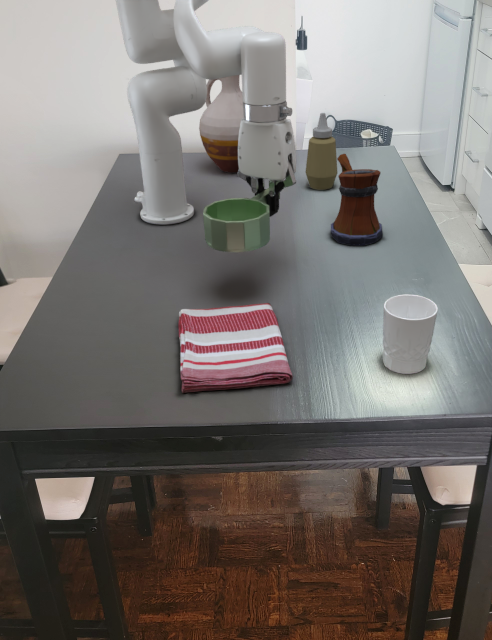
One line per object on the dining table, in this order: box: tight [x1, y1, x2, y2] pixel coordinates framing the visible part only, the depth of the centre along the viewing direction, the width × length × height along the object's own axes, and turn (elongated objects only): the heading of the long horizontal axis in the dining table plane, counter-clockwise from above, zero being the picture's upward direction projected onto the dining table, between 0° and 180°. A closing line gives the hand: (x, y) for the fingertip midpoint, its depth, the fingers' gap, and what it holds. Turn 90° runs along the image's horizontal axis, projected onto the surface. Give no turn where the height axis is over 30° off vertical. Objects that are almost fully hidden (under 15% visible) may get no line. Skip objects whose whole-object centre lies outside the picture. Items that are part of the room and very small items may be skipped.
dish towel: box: [178, 302, 294, 394], centre depth 112 cm, size 17×23×3 cm
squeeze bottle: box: [305, 112, 338, 191], centre depth 171 cm, size 8×8×18 cm
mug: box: [330, 153, 384, 247], centre depth 148 cm, size 18×12×15 cm, turn 11°
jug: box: [198, 75, 243, 174], centre depth 182 cm, size 20×18×30 cm
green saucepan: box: [202, 187, 281, 254], centre depth 125 cm, size 20×12×6 cm, turn 148°
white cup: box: [382, 293, 439, 375], centre depth 106 cm, size 8×8×10 cm
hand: (267, 212), depth 130 cm, fingers closed on green saucepan
